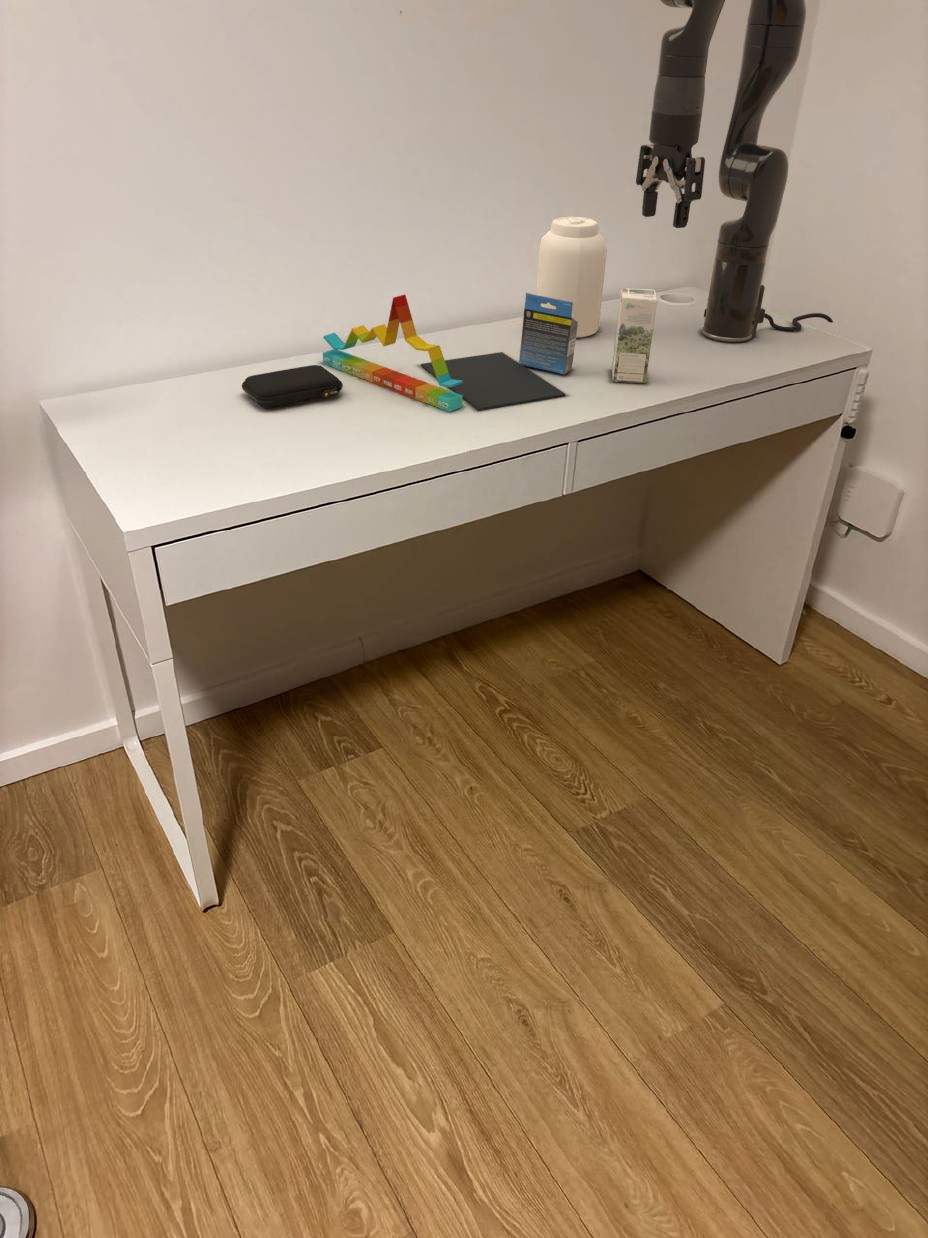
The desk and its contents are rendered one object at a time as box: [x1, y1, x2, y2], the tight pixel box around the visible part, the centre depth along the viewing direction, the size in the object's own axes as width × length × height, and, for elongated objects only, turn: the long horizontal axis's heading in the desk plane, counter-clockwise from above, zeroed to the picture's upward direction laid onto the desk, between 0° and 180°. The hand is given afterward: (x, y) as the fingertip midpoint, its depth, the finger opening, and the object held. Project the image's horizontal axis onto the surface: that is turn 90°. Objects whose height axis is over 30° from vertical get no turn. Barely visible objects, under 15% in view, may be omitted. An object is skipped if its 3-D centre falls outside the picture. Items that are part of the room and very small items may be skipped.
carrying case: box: [241, 364, 344, 409], centre depth 155 cm, size 11×3×15 cm
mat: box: [420, 351, 566, 411], centre depth 164 cm, size 16×22×1 cm
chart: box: [322, 294, 463, 413], centre depth 157 cm, size 30×3×15 cm, turn 47°
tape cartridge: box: [518, 292, 578, 376], centre depth 166 cm, size 9×4×12 cm, turn 63°
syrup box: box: [611, 287, 658, 384], centre depth 163 cm, size 6×6×14 cm
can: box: [535, 215, 608, 339], centre depth 182 cm, size 12×12×20 cm
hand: (663, 221), depth 157 cm, fingers open, 8 cm apart
